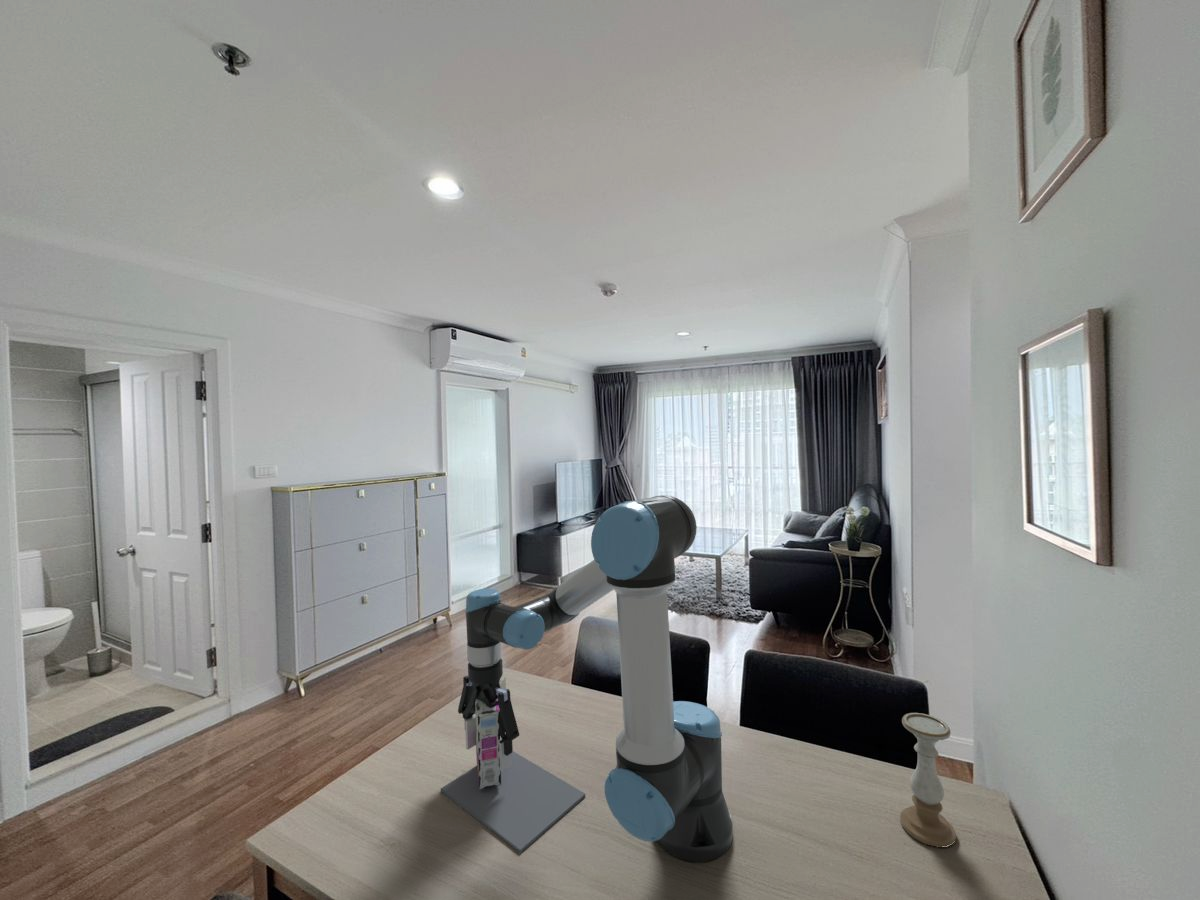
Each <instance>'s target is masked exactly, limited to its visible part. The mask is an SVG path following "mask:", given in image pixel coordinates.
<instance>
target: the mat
mask: <svg viewBox="0 0 1200 900" xmlns="http://www.w3.org/2000/svg"><path fill="white" fill-rule="evenodd" d="M440 792H441V793H443V794H444V795H445V796H446V797H448V798H449V799H450V800H451V801H453V803H455V804H456V805H458V806H459V807H461V808H462V809H463V810H464V811H466V812H467V813H468V814H469V815H471V816H472V817H474V818H475V820H478V822H479V823H481V824H482V825H484V826H485V827H486V828H487V829H488V830H490V831H491V832H493V833H494V834H495V835H496V836H498V837H499V838H501V839H502V840H503V841H504V842H505V843H507V845H509V846H510V847H512V848H513V849H514V850H516V851H517V852H518V853H520V854H522V853H523V851H525V850H526V849H527V848H528V847H529V846H531V845H532V843H534V842H535V841H536V840H537V839H538V838H539V837H541V836H542V835H543V834H544V833H545V832H547V831H548V830H549V829H550V828H551V827H553V825H554V824H556V823H557V822H559V820H561V819H562V817H564V816H565V815H566V814H567V813H568V812H569V811H571V810H572V809H573V808H574V807H575V806H576V805H577V804H579V802H581V801H582V800H583V799H584V798H585V797H586V793H585V792H584V791H581V790H580V789H578V788H576V787H575V786H573V785H571V783H568V782H566V781H565V780H563V779H561V778H559V777H557V776H556V775H554V774H553V773H551V772H550V771H548V770H546V769H544V768H543V767H541V766H539V765H537V764H536V763H534V762H533V761H530V760H529V759H527V758H525V756H522V755H520V754H518V753H517V752H516V751H514V750H513V751H512V765H511V766H509V767H508V768H507V769H505V770H504V771H501V785H499V786H496V787H490V788H486V789H481V790H480V789H479V781H478V770H477V765H475V766H473V767H472V768H470V769H469V770H467V771H466V772H464V773H463V774H461V775H459V776H457V777H456V778H455V779H453V780H452V781H450V782H449V783H447V784H445V785H443V786H442V787H441V788H440Z"/></svg>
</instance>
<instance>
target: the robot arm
mask: <svg viewBox="0 0 1200 900" xmlns="http://www.w3.org/2000/svg"><path fill="white" fill-rule="evenodd" d="M696 536H697V522H696V517H695V515H694V513H693V510H692V509H691V507H689V506H688V504H686V503H685V502H684V501H683V500H681V499H679V498H677V497H676V496H671V495H668V494H667V495H664V494H663V495H662V494H660V495H655V496H652V497H647V498H642V499H637V500H630V501H624V502H621V503H619V504H617V505H614V506H612V507H611V506H610V507H609V508H608V509H606V510H604V512H603V513H602V514H600V516H599V517H598V518H597V519H596V522H595V524H594V526H593V528H592V531H591V538H590V548H591V553H592V557H593V560H591V561H590V562H588V563H587V564H585V566H583V567H582V568H580V569H579V570H578V571H577V572H575V573H574V574H572V575H571V576H570V577H568V579H566V580H565V581H563V582H562V583H561V584H559V585H558V586H557V587H555V588H554V589H553V590H551V591H550V592H549V593H546V594H545V595H542V596H539V597H537V598H534V599H532V600H529V601H526V602H524V603H522V604H519V605H515V606H514V605H513V606H512V605H509V604H505V603H502V602H501V601H502V599H501V593H500V592H499V591H498V590H497V589H495V588H480V589H476V590H473V591H471V592H469V593H468V594H467V595H466V599H465V603H466V604H465V612H464V613H465V626H466V641H467V643H466V647H467V648H466V653H467V675H465V676H463V678H462V679H463V680H462V681H463V683H462V684H463V686H462V690H461V694H460V698H459V699H460V700H459V704H458V709H457V712H458V714H462V719H464V730H465V749H466V750H470V749H471V748H473V747H476V718H475V700H476V697H477V698H478V700H481V701H482V702H484V703H486V706H488V707H489V708H492V707H494V706H497V705H499V709H500V723H499V733H500V740H499V757H500V770H501V771H504V770H505V769H507V768H508V767H509V766H511V765H512V751H514V749H513V747H514V746H513V741H514V740H515V739H516V738H518V737H519V736H520V731H519V726H518V724H517V720H516V716H515V713H514V708H513V704H512V700H511V691H510V689H509V688H507V689H506V690H502V689H501V687H500V684H499V681H500V680H501V679H502V677H503V673H504V671H503V659H502V657H503V650H502V648H503V647H502V644H505V645H507V646H510V647H511V648H515V649H522V650H528V651H529V650H532V649H535V648H536V647H537V646H538V644H539V642H541V641H542V639H543V637H544V634H545V633H547V632H549V631H550V630H553V629H555V628H557V627H560V626H563V625H564V624H567V623H569V622H571V621H572V620H574V619H576V618H577V617H578V616H579V615H580V613H582V612H583V611H584V610H586V609H587V608H589V607H590V606H592V605H593V604H595V603H596V602H598V601H599V600H600V599H602V598H604V597H605V596H607V595H608V594H610V593H611V592H613V591H614V592H615V593H616V609H617V612H616V613H617V628H618V644H619V645H618V648H619V661H620V663H619V665H620V680H621V681H620V683H621V699H622V719H623V720H622V721H623V728H622V730H621V731H619V733H618V734H617V736H616V738H615V739H616V740H615V751H616V753H615V755H616V756H615V757H616V766H615V768H614V769H612V770H610V772H609V773H608V775H607V777H606V779H605V782H604V796H605V799H606V801H605V802H606V803H607V806H608V809H609V810H610V812H611V814H612V816H613V817H614V818H615V819H616V820H617V822H618V825H620V826H621V827H622V829H624V830H625V831H626V832H627V833H628V834H630V835H631V836H633V837H635V838H636V839H638V840H641V841H644V842H656V841H657V843H658V845H659V846H660V847H661V848H662V849H663V850H664V851H666V852H667V853H668V854H670V855H672V856H673V857H675V858H678V859H681V860H683V861H687V862H690V863H691V862H693V863H706V862H711V861H714V860H715V859H719V858H720V857H722V856H723V855H724V854H726V853H727V851H728V850H729V849H730V847H731V845H732V842H733V838H734V836H733V834H734V833H733V820H732V816H731V813H730V811H729V807H728V805H727V801H726V798H725V796H724V792H723V772H722V771H723V770H722V769H723V768H722V767H723V766H722V761H723V760H722V736H723V734H722V730H721V722H720V718H719V716H718V715H717V713H715V711H714V710H712V708H709V707H707V706H706V705H704V704H700V703H697V702H693V701H686V700H678V701H677V700H676V701H675V700H674V695H673V694H674V691H673V674H672V673H673V672H672V658H671V657H672V656H671V640H670V622H669V621H670V620H669V605H668V602H669V601H668V590H669V588H671V586H672V585H673V584H674V583H675V582H676V565H675V561H676V560H675V559H676V558H679V557H680V556H681V555H684V554H685V553H686V552H687V551H689V549H690V548H691V546H692V545H693V543H694V542H695V539H696ZM496 699H497V701H498V702H497V703H495V704H493V705H492V704H491V703H493V702H495V701H496Z"/></svg>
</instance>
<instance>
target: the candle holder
mask: <svg viewBox="0 0 1200 900" xmlns="http://www.w3.org/2000/svg"><path fill="white" fill-rule="evenodd" d="M901 723H902V726H903V727H904V729H906V730H907V731H909V732H910V733H911V734H913V735H914V737H915V738H916V739H917V742H916V743H915V744H914V746H913V749H914V751H915V752H916V753H917V763H916V768H915V769H914V771H913V772H912V775H911V776H910V778H909V787H910V790H911V791H912V792H911V793H913V795H912V796H911V801H912V802H913V804H914V805H911V806H908V807H906V808H904V809H902V810H901V812H900V814H899V821H900V824H901V827H902V828H903V829H904V830H905V832H906V833H907V834H908V835H910V836H911V838H913V839H915V840H916V841H918V842H921V843H922V844H924V845H927V844H928V845H927V846H929V845H932V846H931V847H933V846H938V847H942V846H947V845H950V844H952V843H953V842H954V841H955V839H956V840H957V833H956V829H955V828H954V826H953V825H952V824H951V823H950V822H949V821H948V820H947V819H946V818H945V817H944V815H942V814H941V812H942V811H943V804H942V803H941V802H942V801H943V799H944V797H945V789H944V787H943V783H942V781H941V780H940V778H939V776H938V772H937V768H936V758H938V757H939V754H940V753H939V751H938V750H937V748H936V746H935V745H936V743H938V742H939V741H944V740H947V739H949V738H950V737H951V729H950V727H949V726H948V724H947V723H946V722H944V721H943V720H941V719H939V718H938V717H935V716H934V715H933V716H932V715H930V714H925V713H922V712H921V713H919V712H909V713H905V714H904V715H903V716H902V718H901ZM955 842H956V841H955ZM938 847H937V848H938Z"/></svg>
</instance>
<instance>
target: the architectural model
mask: <svg viewBox="0 0 1200 900" xmlns="http://www.w3.org/2000/svg"><path fill="white" fill-rule="evenodd" d="M506 680H507V679H506V676H504V677H503V678H502V679H500V681H499V684H500V687H501V689H502V690H506V689H508V687H507V682H506Z"/></svg>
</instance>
